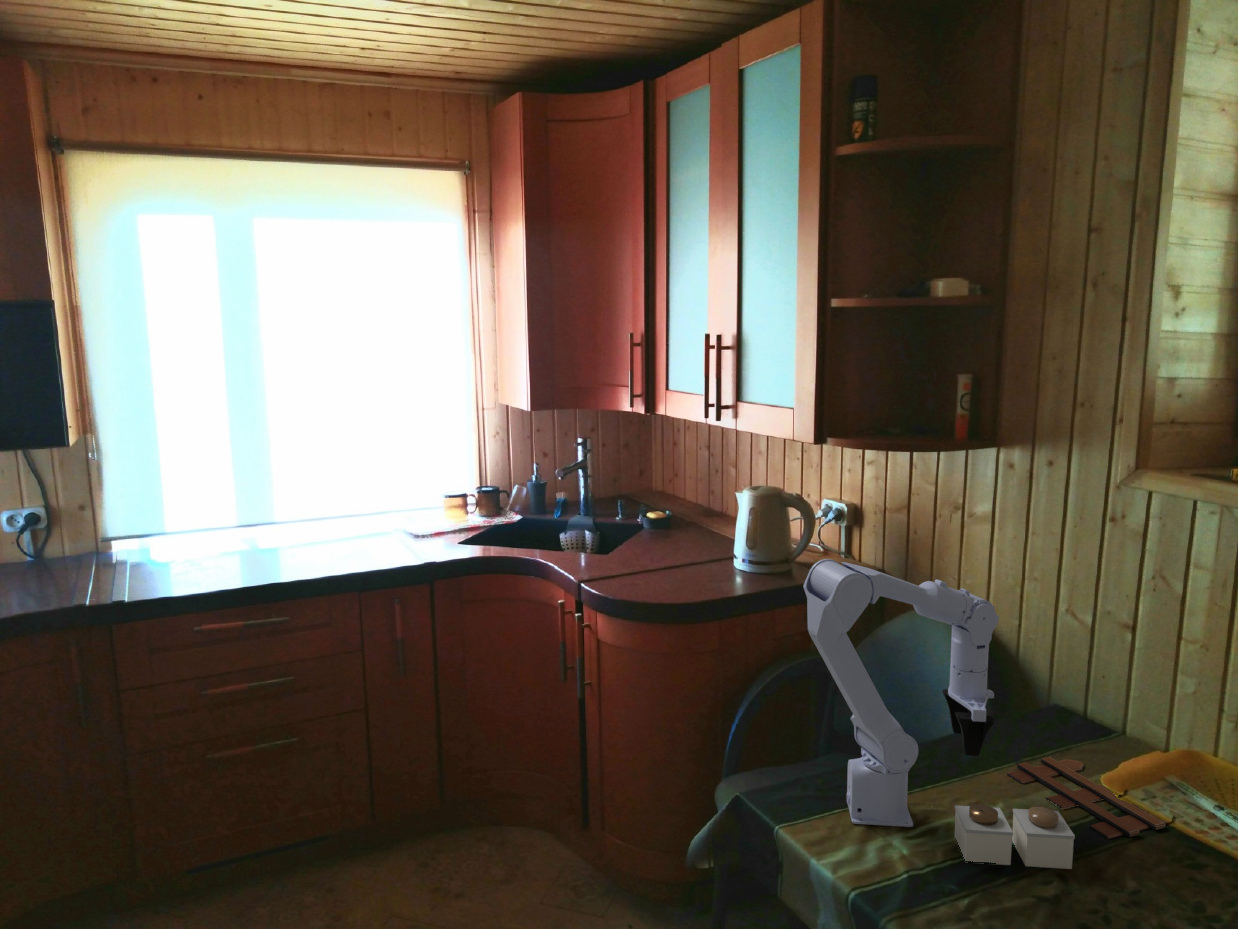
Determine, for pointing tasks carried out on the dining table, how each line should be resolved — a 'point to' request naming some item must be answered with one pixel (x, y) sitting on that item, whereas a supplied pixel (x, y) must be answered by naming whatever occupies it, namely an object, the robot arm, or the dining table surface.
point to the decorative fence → (1087, 797)
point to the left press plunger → (983, 814)
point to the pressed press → (1042, 838)
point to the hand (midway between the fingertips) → (965, 743)
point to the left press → (983, 838)
